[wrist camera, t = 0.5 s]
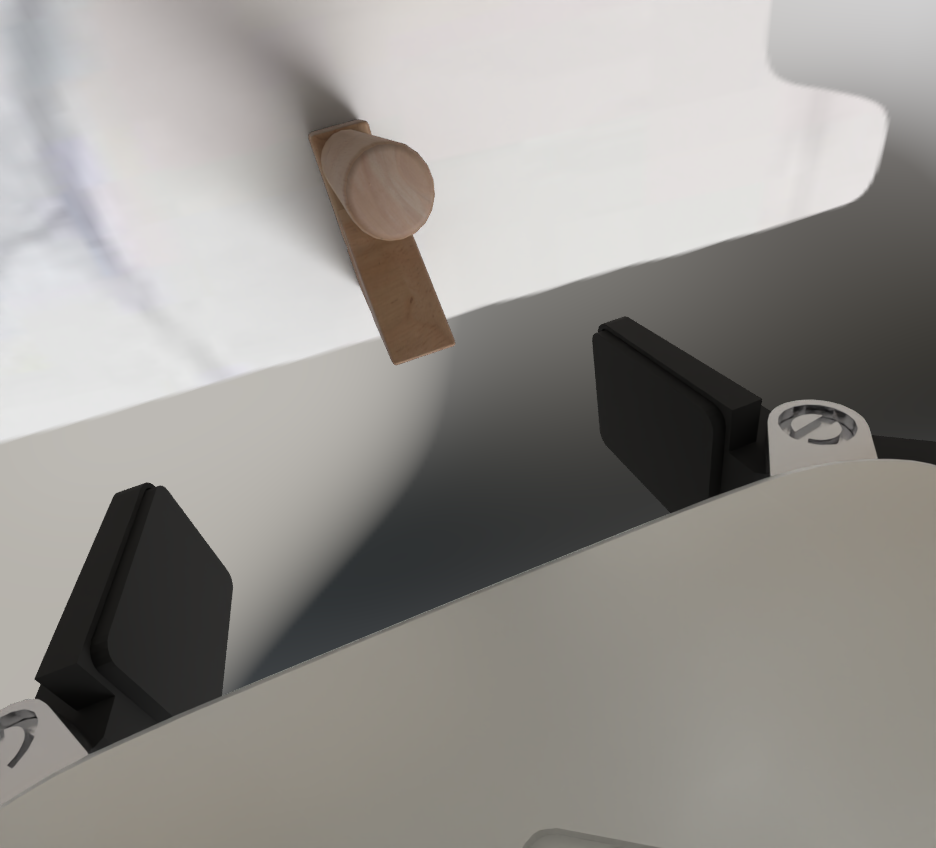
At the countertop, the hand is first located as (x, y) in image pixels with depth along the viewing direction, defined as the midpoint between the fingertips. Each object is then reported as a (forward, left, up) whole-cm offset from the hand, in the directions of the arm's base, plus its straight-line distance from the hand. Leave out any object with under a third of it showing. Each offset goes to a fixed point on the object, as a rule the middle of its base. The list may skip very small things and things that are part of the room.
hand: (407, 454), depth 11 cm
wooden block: (0, +3, -30) cm, 31 cm away
